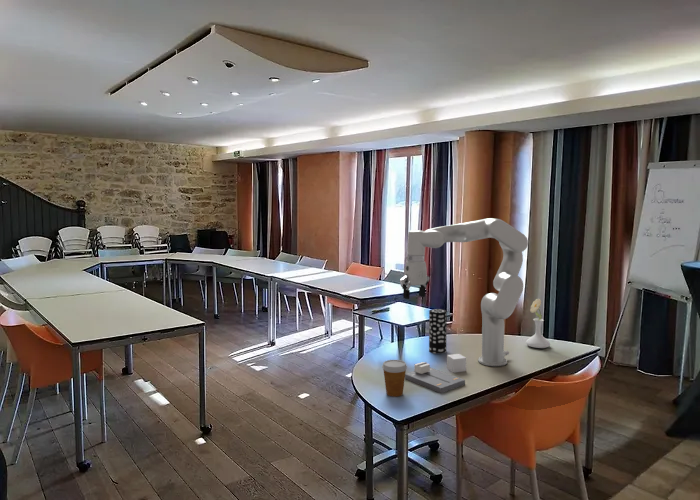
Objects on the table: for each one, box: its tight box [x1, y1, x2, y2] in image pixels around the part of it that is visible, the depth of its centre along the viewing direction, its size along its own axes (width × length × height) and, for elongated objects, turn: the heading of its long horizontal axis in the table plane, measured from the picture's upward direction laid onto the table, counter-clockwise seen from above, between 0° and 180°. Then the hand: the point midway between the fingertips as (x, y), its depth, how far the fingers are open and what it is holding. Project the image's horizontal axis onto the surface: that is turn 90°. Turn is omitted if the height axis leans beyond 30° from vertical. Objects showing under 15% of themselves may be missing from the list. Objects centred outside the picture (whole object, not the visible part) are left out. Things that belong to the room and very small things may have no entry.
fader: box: [413, 361, 431, 374], centre depth 211 cm, size 5×4×3 cm
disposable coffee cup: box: [381, 359, 408, 398], centre depth 193 cm, size 10×10×12 cm
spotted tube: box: [428, 308, 448, 355], centre depth 245 cm, size 8×8×20 cm
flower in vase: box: [525, 298, 551, 349], centre depth 249 cm, size 13×11×25 cm
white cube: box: [446, 353, 467, 373], centre depth 219 cm, size 6×6×6 cm
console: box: [405, 366, 466, 394], centre depth 206 cm, size 14×20×2 cm
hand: (414, 297), depth 220 cm, fingers open, 9 cm apart
